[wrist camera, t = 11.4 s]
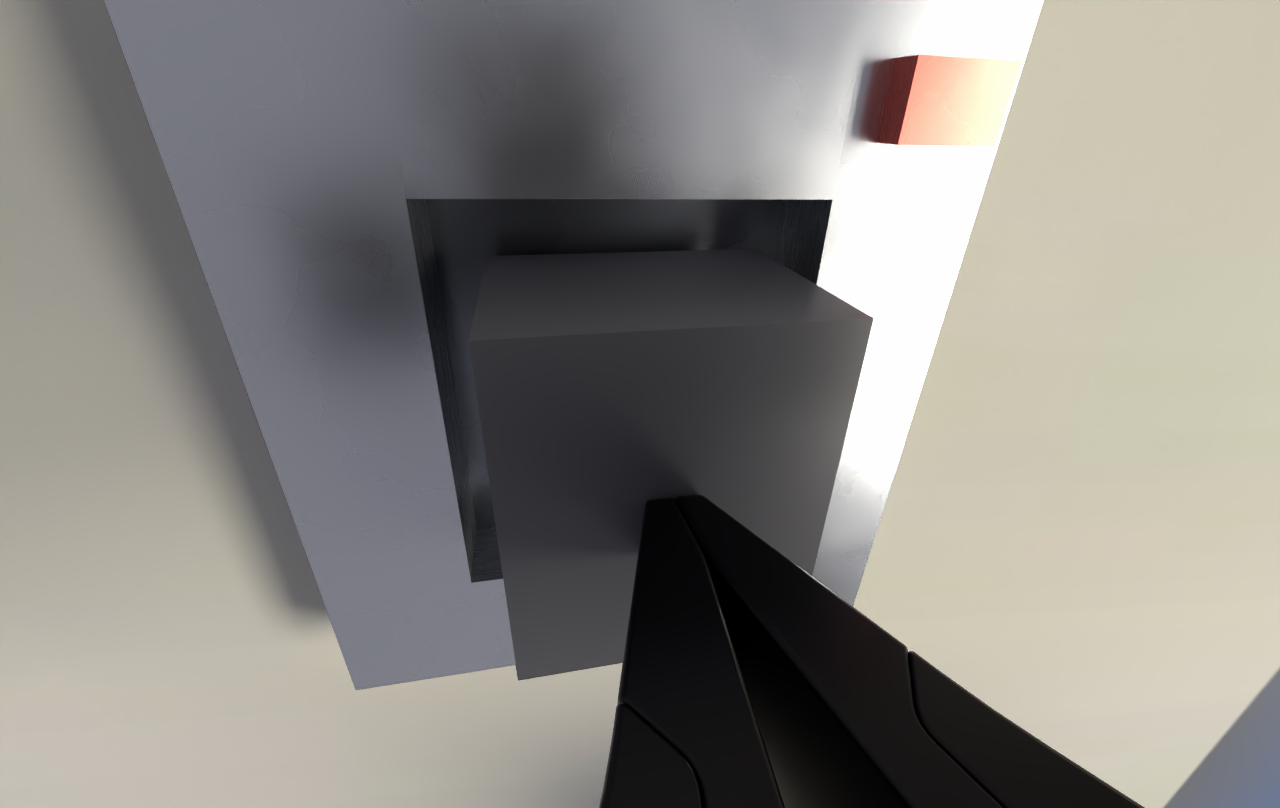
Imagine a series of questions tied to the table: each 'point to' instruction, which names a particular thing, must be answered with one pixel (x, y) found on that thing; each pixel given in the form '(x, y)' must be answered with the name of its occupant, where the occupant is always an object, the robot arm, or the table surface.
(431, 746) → the table surface
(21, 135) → the table surface
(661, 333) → the plug
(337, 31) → the socket
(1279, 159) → the table surface
